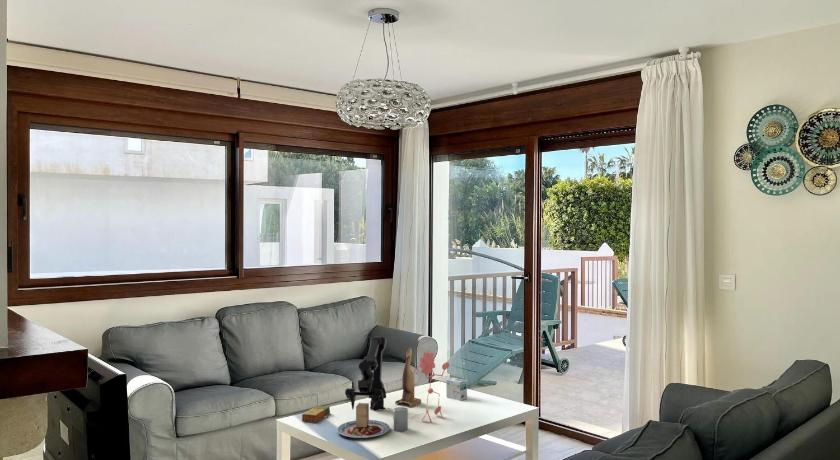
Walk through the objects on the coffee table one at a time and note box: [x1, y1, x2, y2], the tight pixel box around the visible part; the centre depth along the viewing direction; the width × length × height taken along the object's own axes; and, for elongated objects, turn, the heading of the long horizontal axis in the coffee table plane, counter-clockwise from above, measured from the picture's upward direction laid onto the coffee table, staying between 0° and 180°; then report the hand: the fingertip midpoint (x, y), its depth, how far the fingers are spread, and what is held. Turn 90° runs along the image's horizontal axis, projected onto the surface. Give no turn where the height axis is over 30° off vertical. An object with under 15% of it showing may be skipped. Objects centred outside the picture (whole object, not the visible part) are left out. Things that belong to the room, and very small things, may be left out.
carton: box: [301, 405, 331, 424], centre depth 333 cm, size 8×16×4 cm, turn 162°
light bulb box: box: [445, 377, 468, 401], centre depth 367 cm, size 11×7×11 cm, turn 49°
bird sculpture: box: [394, 347, 422, 408], centre depth 356 cm, size 11×12×32 cm
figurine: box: [411, 350, 450, 423], centre depth 331 cm, size 15×26×35 cm, turn 139°
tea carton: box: [355, 402, 370, 427], centre depth 312 cm, size 6×5×10 cm
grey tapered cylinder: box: [393, 406, 409, 433], centre depth 313 cm, size 7×7×10 cm
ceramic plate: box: [336, 419, 391, 439], centre depth 310 cm, size 26×26×3 cm
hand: (361, 409), depth 311 cm, fingers open, 9 cm apart
